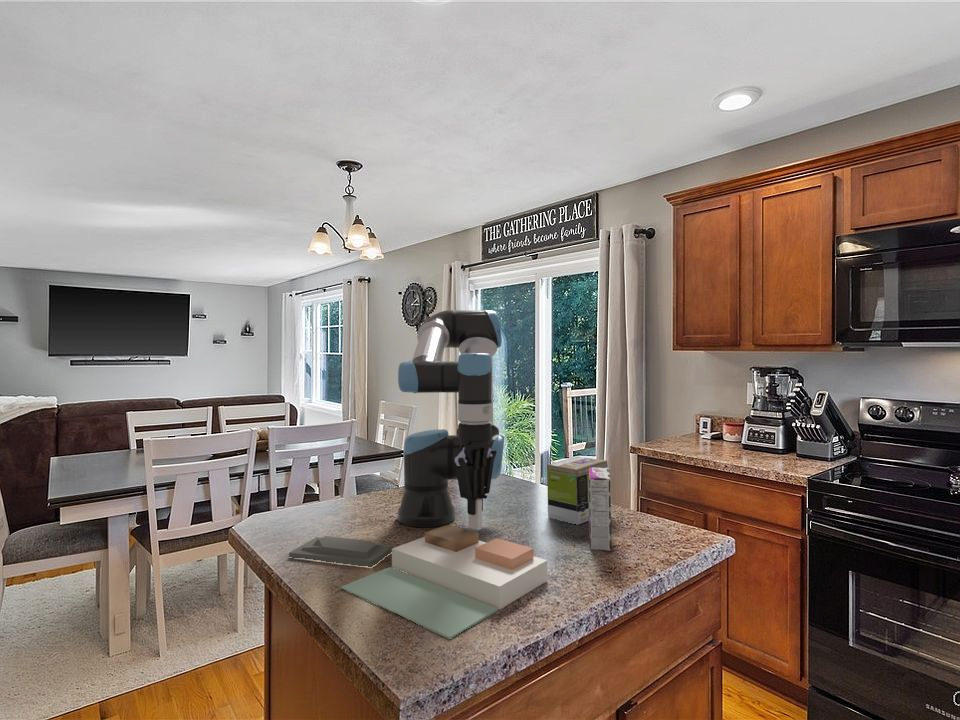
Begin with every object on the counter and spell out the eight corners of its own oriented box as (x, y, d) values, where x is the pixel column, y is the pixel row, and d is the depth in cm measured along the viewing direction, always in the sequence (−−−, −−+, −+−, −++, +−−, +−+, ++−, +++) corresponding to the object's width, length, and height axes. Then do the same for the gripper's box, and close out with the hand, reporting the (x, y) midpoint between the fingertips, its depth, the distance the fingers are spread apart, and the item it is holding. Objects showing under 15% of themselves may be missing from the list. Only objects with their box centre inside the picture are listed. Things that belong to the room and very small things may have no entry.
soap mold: (316, 545, 125) (316, 530, 125) (394, 554, 119) (394, 538, 119) (288, 561, 115) (288, 545, 115) (371, 572, 109) (371, 555, 109)
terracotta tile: (475, 558, 104) (475, 547, 104) (497, 548, 110) (497, 538, 110) (512, 569, 99) (512, 559, 99) (533, 558, 104) (533, 548, 104)
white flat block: (392, 568, 110) (391, 548, 110) (442, 547, 121) (442, 529, 121) (499, 609, 92) (499, 586, 92) (547, 580, 103) (547, 560, 103)
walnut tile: (424, 542, 113) (424, 532, 113) (447, 533, 119) (447, 524, 119) (456, 552, 108) (456, 542, 108) (478, 542, 113) (478, 533, 113)
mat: (340, 588, 100) (340, 586, 100) (390, 568, 109) (390, 566, 109) (450, 639, 82) (450, 637, 82) (498, 610, 91) (498, 608, 91)
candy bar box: (588, 533, 130) (588, 466, 130) (609, 535, 129) (609, 467, 129) (588, 550, 119) (588, 477, 119) (611, 552, 118) (611, 478, 118)
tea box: (579, 506, 153) (579, 455, 153) (609, 513, 146) (609, 460, 146) (546, 517, 143) (546, 462, 143) (577, 526, 136) (577, 468, 136)
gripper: (468, 426, 111) (469, 539, 112) (506, 420, 121) (506, 523, 122) (442, 423, 116) (442, 531, 116) (480, 418, 126) (480, 517, 126)
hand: (475, 527), depth 119 cm, fingers closed
